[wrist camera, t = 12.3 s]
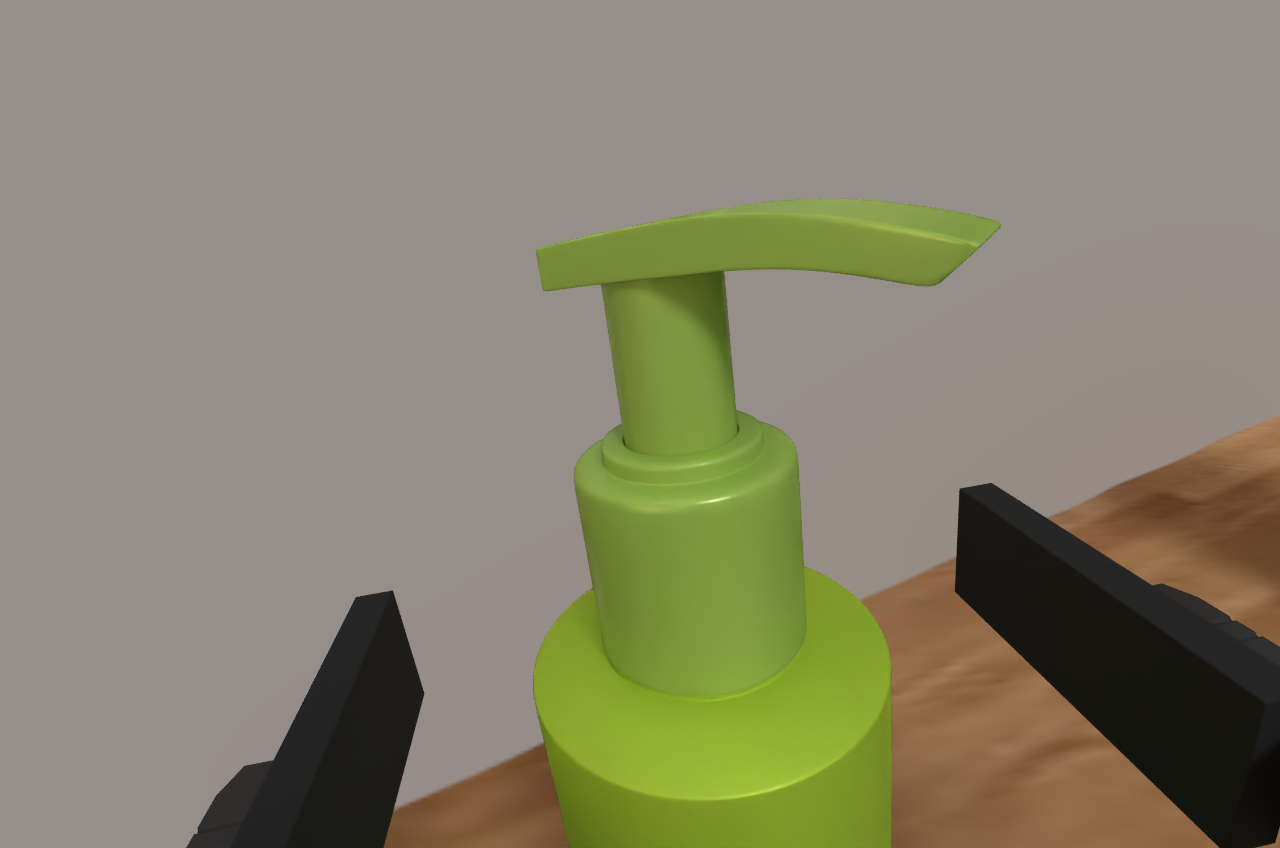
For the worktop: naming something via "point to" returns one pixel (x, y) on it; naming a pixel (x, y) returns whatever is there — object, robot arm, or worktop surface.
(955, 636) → the worktop surface
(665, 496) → the soap dispenser
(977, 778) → the worktop surface
